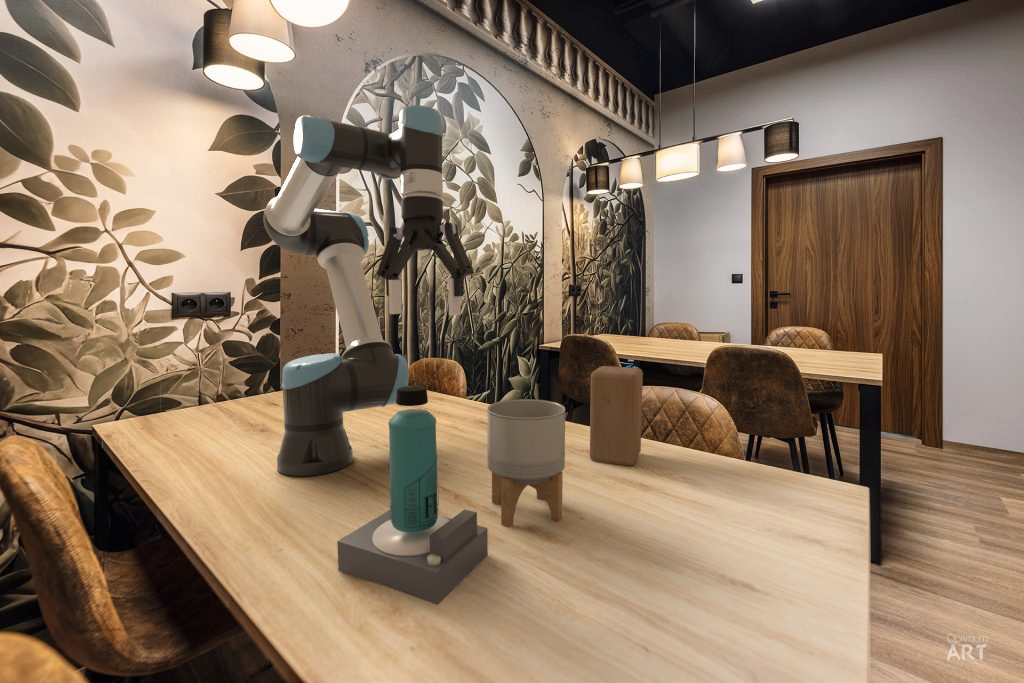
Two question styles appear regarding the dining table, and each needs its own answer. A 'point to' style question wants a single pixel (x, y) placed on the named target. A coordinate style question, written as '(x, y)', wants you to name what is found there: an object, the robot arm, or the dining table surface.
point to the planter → (526, 453)
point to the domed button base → (415, 554)
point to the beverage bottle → (413, 463)
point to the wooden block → (616, 414)
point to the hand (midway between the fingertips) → (424, 314)
